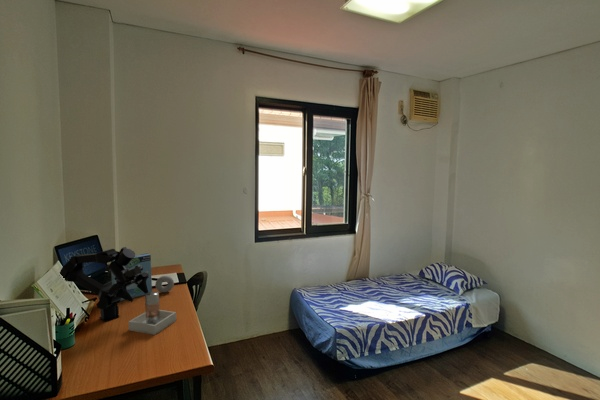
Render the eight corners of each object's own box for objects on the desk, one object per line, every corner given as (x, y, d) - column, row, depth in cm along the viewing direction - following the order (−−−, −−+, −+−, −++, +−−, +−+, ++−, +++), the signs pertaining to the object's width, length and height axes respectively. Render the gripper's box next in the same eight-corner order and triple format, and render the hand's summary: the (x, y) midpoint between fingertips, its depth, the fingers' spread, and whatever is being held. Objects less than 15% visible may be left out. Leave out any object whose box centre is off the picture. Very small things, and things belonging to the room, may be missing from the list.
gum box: (149, 291, 184) (148, 252, 182) (152, 293, 181) (151, 254, 179) (112, 300, 171) (110, 259, 169) (114, 302, 167) (112, 260, 165)
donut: (155, 294, 179) (154, 277, 178) (155, 292, 182) (155, 275, 181) (174, 292, 183) (173, 275, 182) (174, 290, 186) (173, 273, 185)
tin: (144, 326, 140) (142, 296, 138) (148, 320, 145) (147, 291, 144) (157, 326, 140) (156, 296, 139) (161, 320, 146) (160, 291, 145)
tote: (154, 334, 134) (154, 326, 134) (128, 330, 138) (128, 321, 138) (176, 320, 148) (176, 312, 147) (152, 316, 152) (151, 308, 151)
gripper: (112, 266, 135) (134, 294, 133) (145, 255, 153) (164, 280, 151) (99, 282, 138) (120, 309, 136) (132, 269, 156) (151, 294, 154)
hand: (140, 297), depth 144 cm, fingers open, 9 cm apart
